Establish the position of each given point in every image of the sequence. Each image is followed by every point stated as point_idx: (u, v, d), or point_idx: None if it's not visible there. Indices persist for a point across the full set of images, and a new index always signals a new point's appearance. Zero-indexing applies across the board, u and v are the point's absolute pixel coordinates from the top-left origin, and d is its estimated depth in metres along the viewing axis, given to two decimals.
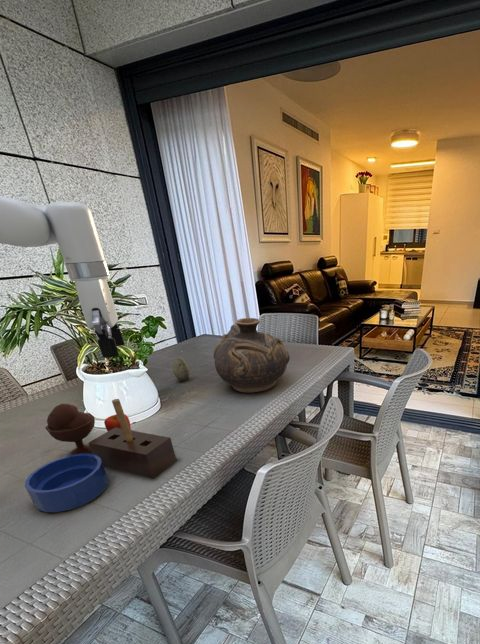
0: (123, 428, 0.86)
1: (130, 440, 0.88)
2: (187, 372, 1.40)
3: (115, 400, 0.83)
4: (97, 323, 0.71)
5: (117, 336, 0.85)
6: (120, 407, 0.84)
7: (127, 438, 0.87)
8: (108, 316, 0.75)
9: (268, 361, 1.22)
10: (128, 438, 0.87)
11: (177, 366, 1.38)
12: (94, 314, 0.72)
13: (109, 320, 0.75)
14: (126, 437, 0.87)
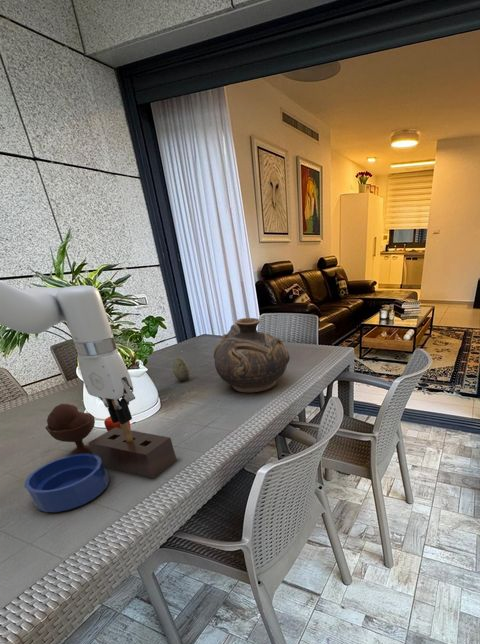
0: (123, 428, 0.86)
1: (130, 440, 0.88)
2: (187, 372, 1.40)
3: None
4: (134, 398, 0.81)
5: None
6: None
7: (127, 438, 0.87)
8: (131, 382, 0.81)
9: (268, 361, 1.22)
10: (128, 438, 0.87)
11: (177, 366, 1.38)
12: (126, 389, 0.79)
13: (132, 385, 0.81)
14: (126, 437, 0.87)
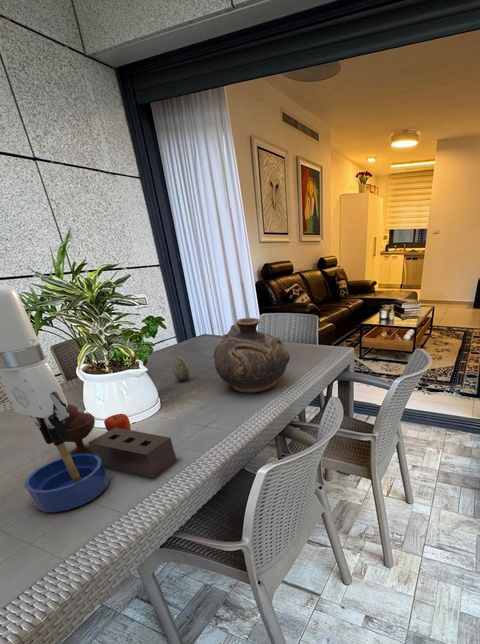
0: (60, 450, 0.74)
1: (69, 463, 0.76)
2: (187, 372, 1.40)
3: None
4: (67, 417, 0.69)
5: None
6: None
7: (66, 461, 0.76)
8: None
9: (268, 361, 1.22)
10: (67, 461, 0.76)
11: (177, 366, 1.38)
12: (57, 406, 0.68)
13: (66, 401, 0.70)
14: (64, 460, 0.75)
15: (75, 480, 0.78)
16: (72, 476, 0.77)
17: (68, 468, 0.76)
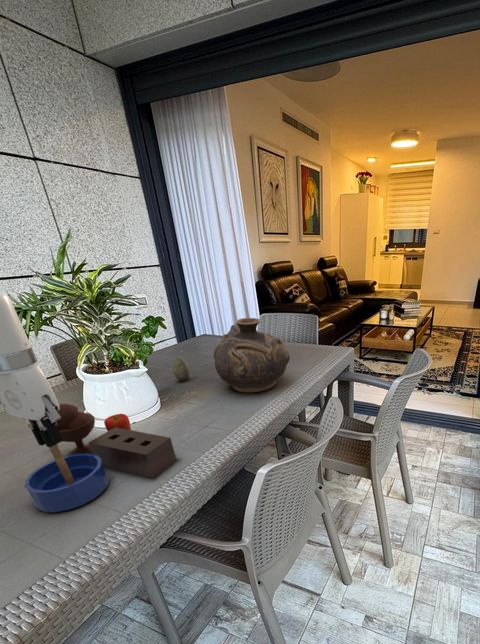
0: (52, 451, 0.75)
1: (62, 464, 0.77)
2: (187, 372, 1.40)
3: None
4: (59, 419, 0.70)
5: None
6: None
7: (58, 462, 0.77)
8: (56, 399, 0.70)
9: (268, 361, 1.22)
10: (59, 462, 0.77)
11: (177, 366, 1.38)
12: (49, 408, 0.69)
13: None
14: (57, 461, 0.77)
15: (68, 481, 0.79)
16: (64, 477, 0.79)
17: (61, 469, 0.78)
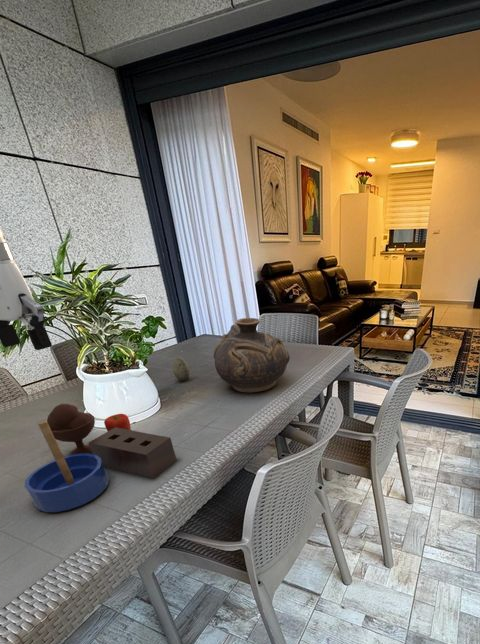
0: (53, 453, 0.76)
1: (63, 466, 0.78)
2: (187, 372, 1.40)
3: (41, 422, 0.73)
4: (41, 307, 0.67)
5: (12, 333, 0.74)
6: (48, 430, 0.73)
7: (59, 463, 0.77)
8: None
9: (268, 361, 1.22)
10: (60, 463, 0.77)
11: (177, 366, 1.38)
12: (27, 299, 0.66)
13: None
14: (58, 462, 0.77)
15: (68, 482, 0.80)
16: (65, 478, 0.79)
17: (62, 470, 0.78)
